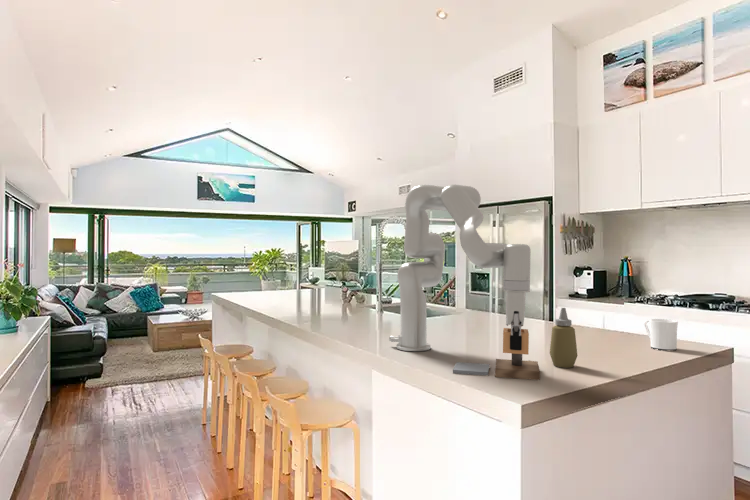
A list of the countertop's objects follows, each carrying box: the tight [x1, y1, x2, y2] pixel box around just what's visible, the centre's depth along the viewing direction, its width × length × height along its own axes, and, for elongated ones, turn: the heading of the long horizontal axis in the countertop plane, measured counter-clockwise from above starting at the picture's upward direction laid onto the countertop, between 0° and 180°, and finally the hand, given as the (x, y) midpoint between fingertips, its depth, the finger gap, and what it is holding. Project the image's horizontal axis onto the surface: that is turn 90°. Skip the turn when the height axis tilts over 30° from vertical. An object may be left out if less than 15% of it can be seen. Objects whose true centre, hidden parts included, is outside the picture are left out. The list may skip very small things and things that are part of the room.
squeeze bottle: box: [549, 307, 578, 369], centre depth 148 cm, size 8×8×18 cm
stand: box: [494, 353, 541, 381], centre depth 140 cm, size 12×12×10 cm
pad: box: [452, 361, 491, 376], centre depth 143 cm, size 10×10×1 cm
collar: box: [502, 327, 530, 355], centre depth 140 cm, size 7×7×6 cm
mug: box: [643, 318, 679, 351], centre depth 175 cm, size 11×9×10 cm
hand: (515, 346), depth 140 cm, fingers closed on collar, 7 cm apart
